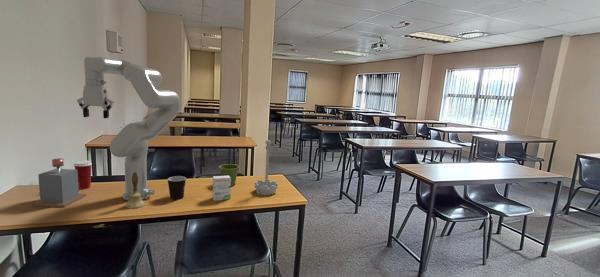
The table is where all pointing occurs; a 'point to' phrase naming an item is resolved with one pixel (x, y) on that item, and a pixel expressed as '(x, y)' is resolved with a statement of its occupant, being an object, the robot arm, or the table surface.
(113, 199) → the table surface
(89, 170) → the paper cup
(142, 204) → the hand bell
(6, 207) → the table surface
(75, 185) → the block
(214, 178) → the ink box
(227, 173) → the plant pot
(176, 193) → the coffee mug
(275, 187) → the flag stand
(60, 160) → the plunger
